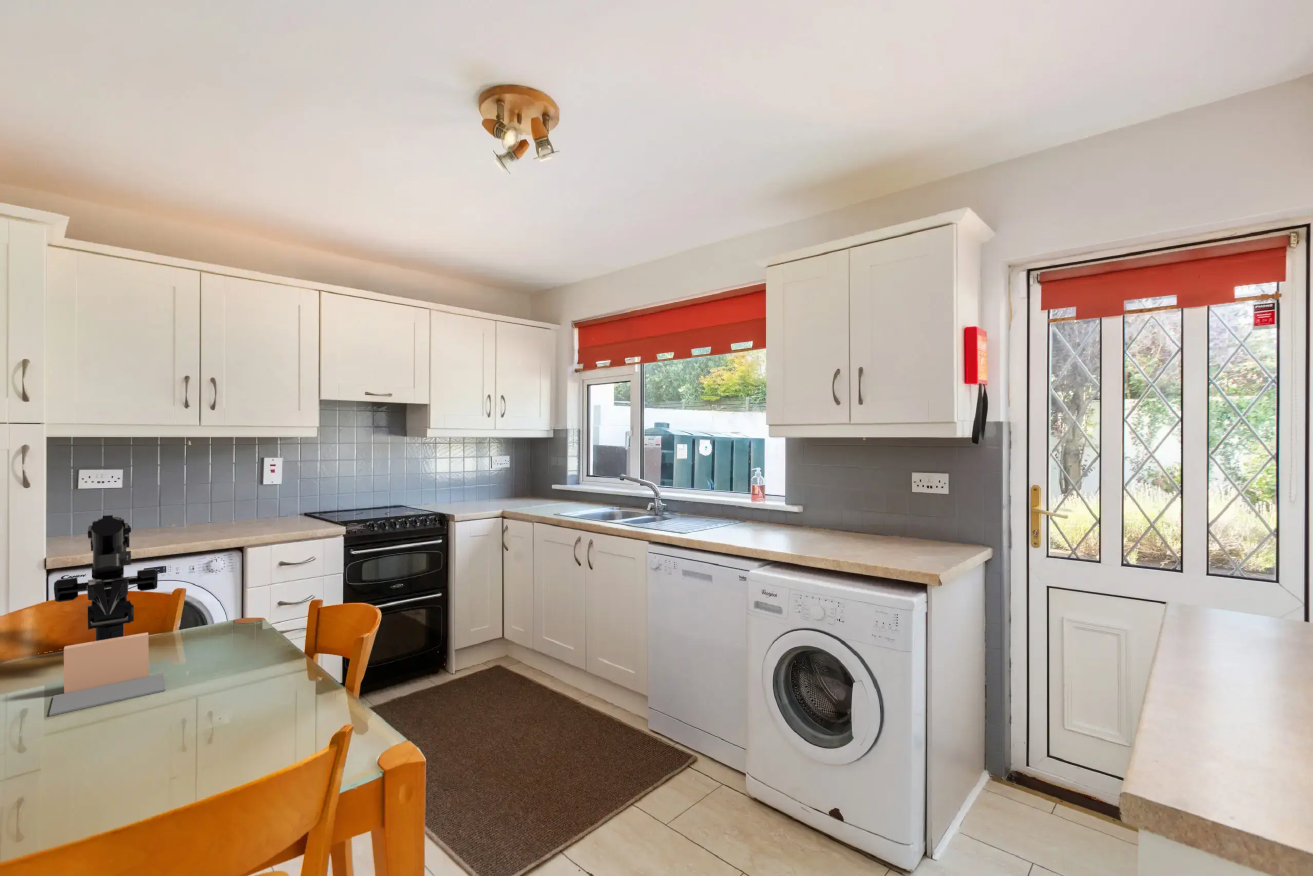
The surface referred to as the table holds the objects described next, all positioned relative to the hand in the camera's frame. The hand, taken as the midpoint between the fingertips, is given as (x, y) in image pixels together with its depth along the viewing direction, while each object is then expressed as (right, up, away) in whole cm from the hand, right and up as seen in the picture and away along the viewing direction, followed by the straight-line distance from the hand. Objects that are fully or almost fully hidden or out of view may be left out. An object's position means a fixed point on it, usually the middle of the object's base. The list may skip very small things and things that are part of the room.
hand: (107, 614), depth 144 cm
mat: (+13, -13, -13) cm, 23 cm away
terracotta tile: (+7, -14, -8) cm, 17 cm away
